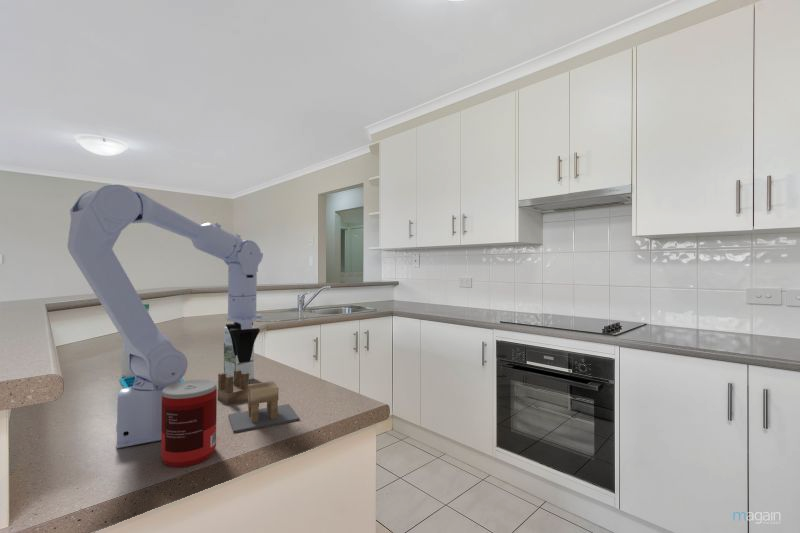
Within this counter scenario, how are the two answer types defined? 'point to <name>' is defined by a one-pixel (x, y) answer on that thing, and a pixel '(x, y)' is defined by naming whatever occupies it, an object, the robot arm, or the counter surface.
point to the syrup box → (235, 358)
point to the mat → (262, 418)
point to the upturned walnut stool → (233, 387)
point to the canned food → (188, 422)
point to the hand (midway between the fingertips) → (241, 358)
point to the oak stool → (262, 399)
